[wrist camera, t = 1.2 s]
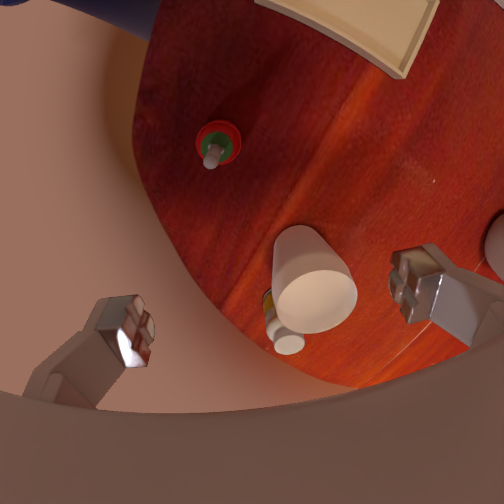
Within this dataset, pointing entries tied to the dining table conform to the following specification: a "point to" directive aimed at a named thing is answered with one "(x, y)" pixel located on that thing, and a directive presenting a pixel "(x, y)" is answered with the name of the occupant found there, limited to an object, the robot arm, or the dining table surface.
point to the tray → (367, 26)
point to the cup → (310, 282)
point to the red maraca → (218, 143)
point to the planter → (496, 246)
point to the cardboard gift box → (500, 3)
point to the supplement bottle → (280, 329)
